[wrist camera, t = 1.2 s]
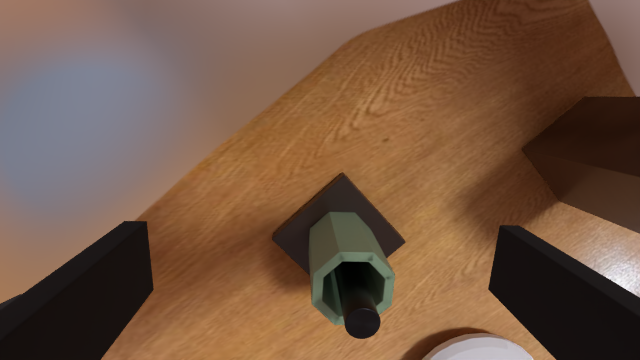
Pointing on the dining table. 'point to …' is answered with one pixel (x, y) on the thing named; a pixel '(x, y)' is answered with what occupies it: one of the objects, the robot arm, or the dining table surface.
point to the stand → (594, 158)
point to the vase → (478, 349)
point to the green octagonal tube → (346, 245)
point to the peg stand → (348, 274)
